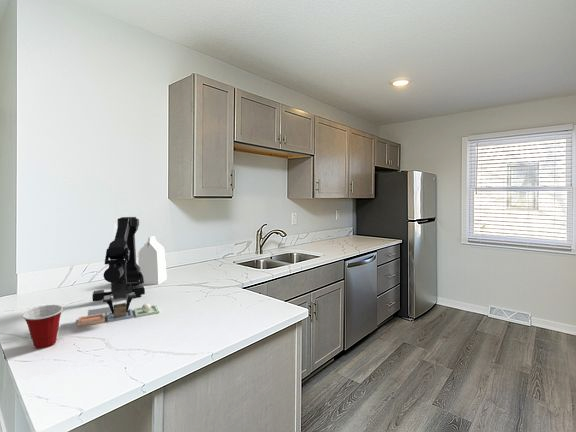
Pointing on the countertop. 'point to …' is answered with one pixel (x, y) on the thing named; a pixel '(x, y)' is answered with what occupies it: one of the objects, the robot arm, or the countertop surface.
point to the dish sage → (140, 312)
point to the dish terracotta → (91, 320)
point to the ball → (146, 307)
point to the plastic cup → (43, 324)
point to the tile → (99, 311)
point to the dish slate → (111, 317)
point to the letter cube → (119, 310)
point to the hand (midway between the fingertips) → (120, 313)
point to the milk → (152, 262)
